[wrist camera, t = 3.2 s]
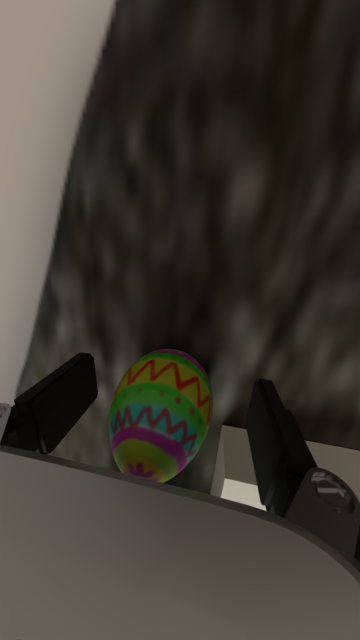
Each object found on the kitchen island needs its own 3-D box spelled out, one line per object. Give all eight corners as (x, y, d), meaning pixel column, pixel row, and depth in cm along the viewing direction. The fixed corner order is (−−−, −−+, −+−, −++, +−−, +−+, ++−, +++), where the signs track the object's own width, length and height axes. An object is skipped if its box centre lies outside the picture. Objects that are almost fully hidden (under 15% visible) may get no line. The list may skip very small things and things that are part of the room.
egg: (228, 365, 11) (244, 479, 5) (187, 415, 13) (167, 540, 7) (157, 322, 11) (97, 394, 5) (126, 379, 13) (56, 477, 7)
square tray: (374, 453, 11) (433, 525, 8) (326, 535, 14) (356, 609, 11) (222, 424, 12) (224, 478, 9) (208, 505, 15) (206, 565, 12)
